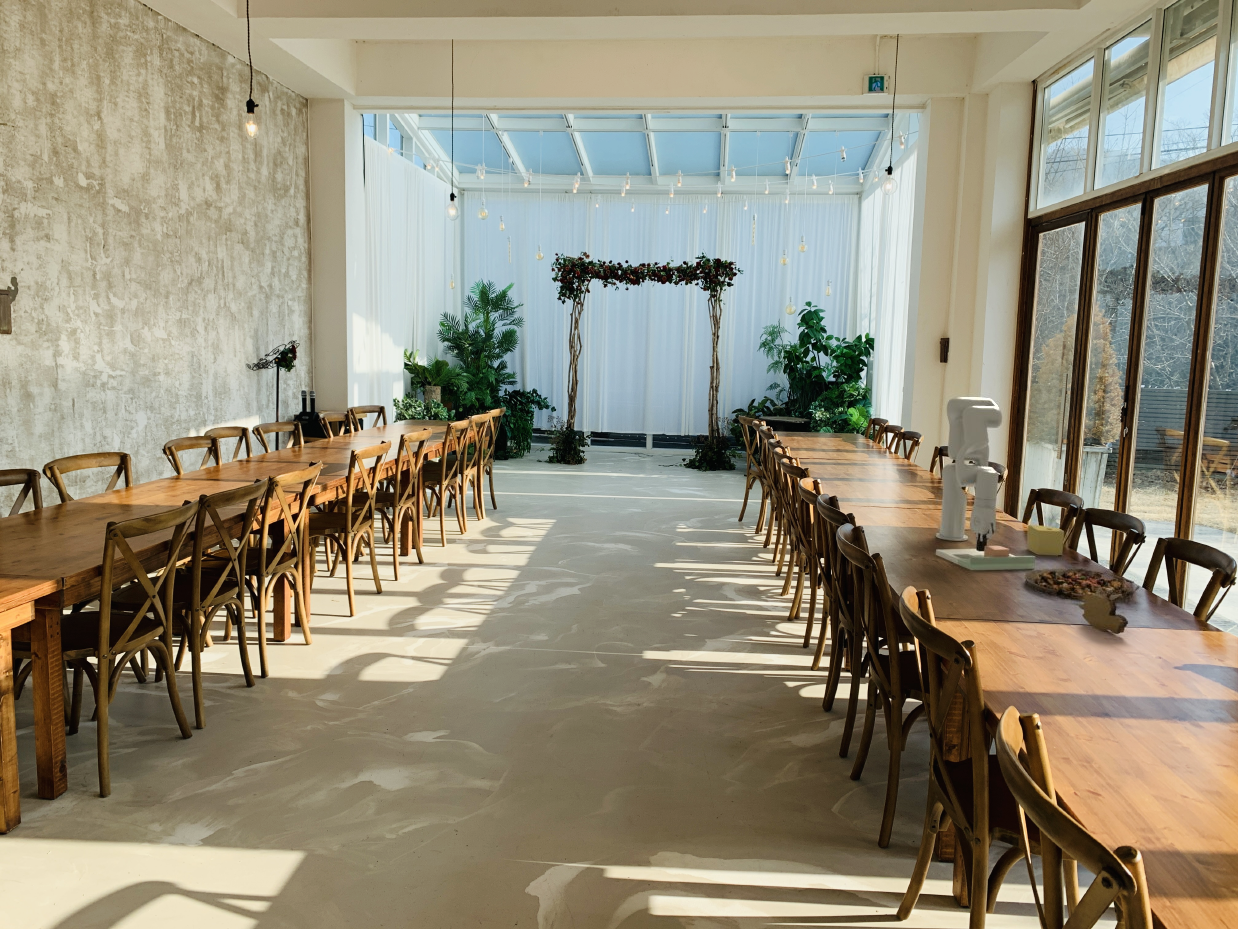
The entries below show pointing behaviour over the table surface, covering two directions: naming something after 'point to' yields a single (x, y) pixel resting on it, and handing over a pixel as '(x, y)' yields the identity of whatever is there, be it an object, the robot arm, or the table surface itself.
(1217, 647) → the table surface
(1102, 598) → the wooden carving
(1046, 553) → the cheese
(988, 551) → the block
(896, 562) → the table surface
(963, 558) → the board
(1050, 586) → the food dish
